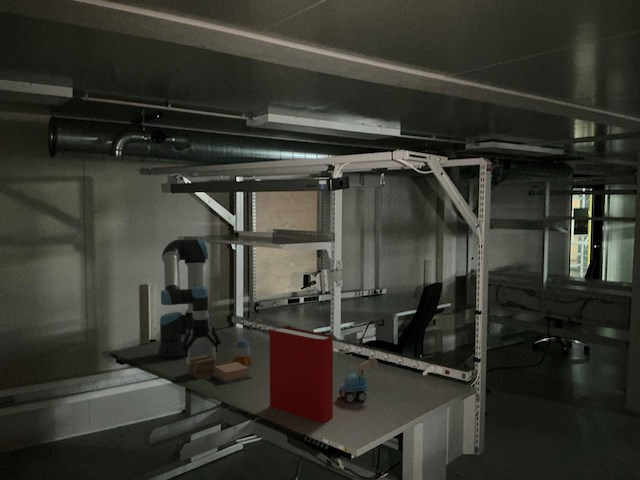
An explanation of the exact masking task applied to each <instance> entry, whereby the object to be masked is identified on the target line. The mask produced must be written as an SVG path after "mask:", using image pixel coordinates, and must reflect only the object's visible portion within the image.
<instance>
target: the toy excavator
mask: <svg viewBox="0 0 640 480" xmlns="http://www.w3.org/2000/svg"><path fill="white" fill-rule="evenodd" d="M370 366H371V368H373V369H374V370H376V369H377V368H378V366H379V361H378V360H377V359H376V358H375V357H374V356H368V360H365V361H364V362H363V363H361V364H360V365H359V366H358V372H357V373H358V375H357V374H355V373H350V374H348V375H346V377H345V378H344V382H343V383H341V384H340V385H339V391H338V393H339V395H340V396H341V397H342V398H343V399H344V401H346V402H347V403H351V402H352V403H353V402H354V400H355V399H357V400H358V401H359V402H365V401H366V399H367V393H366V392H365V391H368V385H367V379H366V378H365V371H366V369H368V368H369V367H370Z"/></svg>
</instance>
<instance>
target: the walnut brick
mask: <svg viewBox="0 0 640 480" xmlns="http://www.w3.org/2000/svg"><path fill="white" fill-rule="evenodd" d="M187 365H188V366H187V367H188V368H187V370H188V375H190V376H191V377H193V378H195V379H196V380H198V379H202V378H206V377H207V378H208V377H212V374H215V360H214V359H212V357H210V356H209V355H206V354H203V355H197V356H192V357H191V356H190V364H187Z"/></svg>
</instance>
